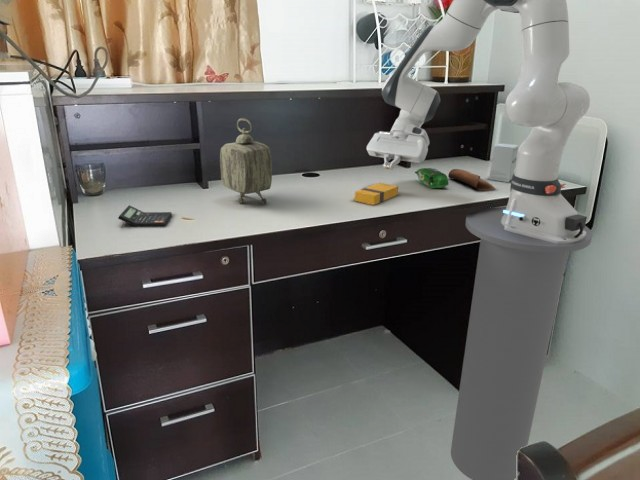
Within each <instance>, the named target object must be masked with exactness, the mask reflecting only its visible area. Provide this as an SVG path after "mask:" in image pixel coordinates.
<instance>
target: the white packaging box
mask: <svg viewBox="0 0 640 480" xmlns="http://www.w3.org/2000/svg"><path fill="white" fill-rule="evenodd" d="M519 146H520V145H519V144H513V143H512V144H511V143H497V144H495V145H494V146H493V149H492V156H491V164H490V169H489V177H488V180H491V181H497V182H504V183H510V182H511V180H512V175H513V174H514V172H515V166H516V160H517V153H518V149H519Z"/></svg>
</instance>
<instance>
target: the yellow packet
mask: <svg viewBox="0 0 640 480" xmlns="http://www.w3.org/2000/svg"><path fill="white" fill-rule="evenodd" d="M398 192H399V186H398V185H395V184H388V183H383V182H378V183H375V184H372V185H370V186H366V187H363V188H361V189H358V190H355V192H354V202H358V203H362V204H368V205H371V206H375V205H378V204H381V203H383V202H384V201H387V200H389V199H392V198H394V197H396V196H398Z"/></svg>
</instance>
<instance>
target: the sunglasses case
mask: <svg viewBox="0 0 640 480" xmlns="http://www.w3.org/2000/svg"><path fill="white" fill-rule="evenodd" d="M447 174H448V175H447V178H449V179H451V180H458V181H459V182H461V183H465V184H466V185H468V186H471V187H473V188H474V189H476V190H477V192H481V191H482V192H487V191H493V190H496V188H495V186H493V185H492V184H491V183H490V182H488V181H486V180H485V179H483V178H481V176H480V175H478V174H475V173H473V172H470V171H467V170H464V169H460V168H453V169H451V170H450V171H449V172H448V173H447Z"/></svg>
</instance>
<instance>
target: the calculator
mask: <svg viewBox="0 0 640 480" xmlns="http://www.w3.org/2000/svg"><path fill="white" fill-rule="evenodd" d="M172 214H173V213H172V211H161V212H160V211H156V212H155V211H151V212H150V211H146V212H145V211H143V210H140V209H138V208H136V207H134V206H132V205H128V206H126V208H125V209H124V210H123V211H122V212H121V213H120V214H119V215H118V217H117V219H118V220H120V221H122V222H125V223H126V224H129V225H131V226H132V227H136V228H137V227H165V226H166V225H167V224H168V222H169V220H170V219H171V217H172Z"/></svg>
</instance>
